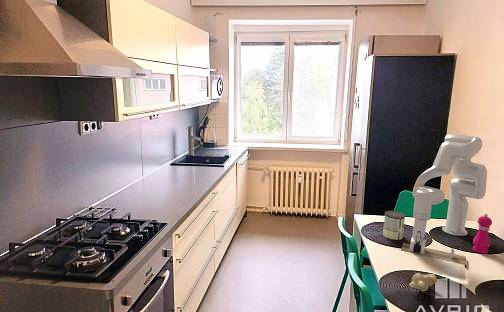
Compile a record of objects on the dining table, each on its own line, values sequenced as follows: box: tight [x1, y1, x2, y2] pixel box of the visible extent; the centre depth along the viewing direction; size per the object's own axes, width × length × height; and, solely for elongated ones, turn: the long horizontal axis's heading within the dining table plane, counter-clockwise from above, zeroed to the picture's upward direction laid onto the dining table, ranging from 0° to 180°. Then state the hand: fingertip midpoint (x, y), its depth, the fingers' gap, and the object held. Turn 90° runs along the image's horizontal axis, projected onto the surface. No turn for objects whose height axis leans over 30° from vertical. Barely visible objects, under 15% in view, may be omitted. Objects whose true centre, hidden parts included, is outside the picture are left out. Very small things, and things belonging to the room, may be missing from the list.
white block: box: [409, 237, 427, 254], centre depth 172 cm, size 6×6×5 cm
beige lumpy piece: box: [409, 272, 438, 293], centre depth 139 cm, size 8×7×12 cm
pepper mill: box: [472, 213, 493, 255], centre depth 175 cm, size 7×7×20 cm
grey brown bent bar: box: [400, 242, 468, 269], centre depth 169 cm, size 10×28×2 cm, turn 61°
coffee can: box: [382, 210, 406, 241], centre depth 188 cm, size 10×10×14 cm
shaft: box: [450, 247, 455, 259], centre depth 165 cm, size 3×1×4 cm, turn 151°
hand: (417, 248), depth 172 cm, fingers open, 6 cm apart
